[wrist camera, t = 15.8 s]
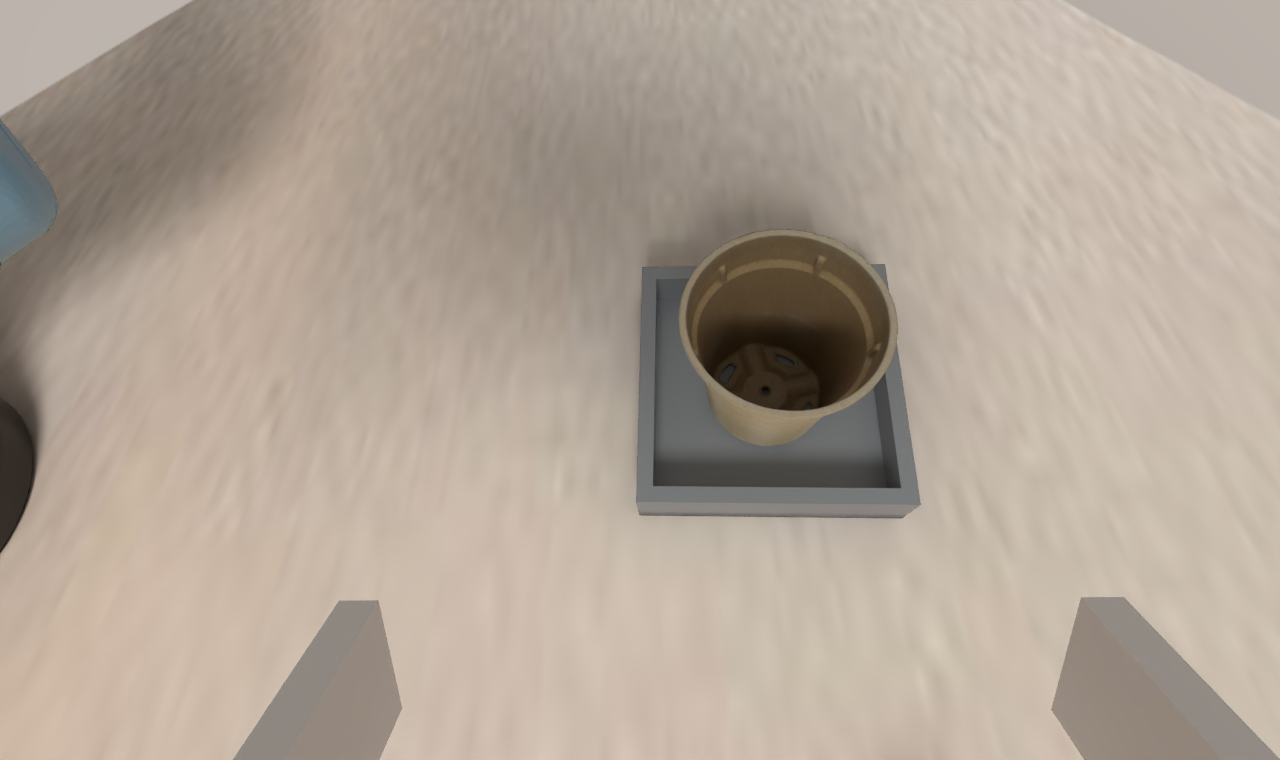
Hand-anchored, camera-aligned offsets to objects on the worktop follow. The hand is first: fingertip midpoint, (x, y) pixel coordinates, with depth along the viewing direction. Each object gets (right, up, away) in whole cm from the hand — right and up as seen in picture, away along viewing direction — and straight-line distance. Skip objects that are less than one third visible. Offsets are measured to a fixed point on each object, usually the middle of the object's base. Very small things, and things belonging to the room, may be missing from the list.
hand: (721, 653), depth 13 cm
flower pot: (+5, +4, +24) cm, 25 cm away
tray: (+5, +4, +25) cm, 26 cm away
